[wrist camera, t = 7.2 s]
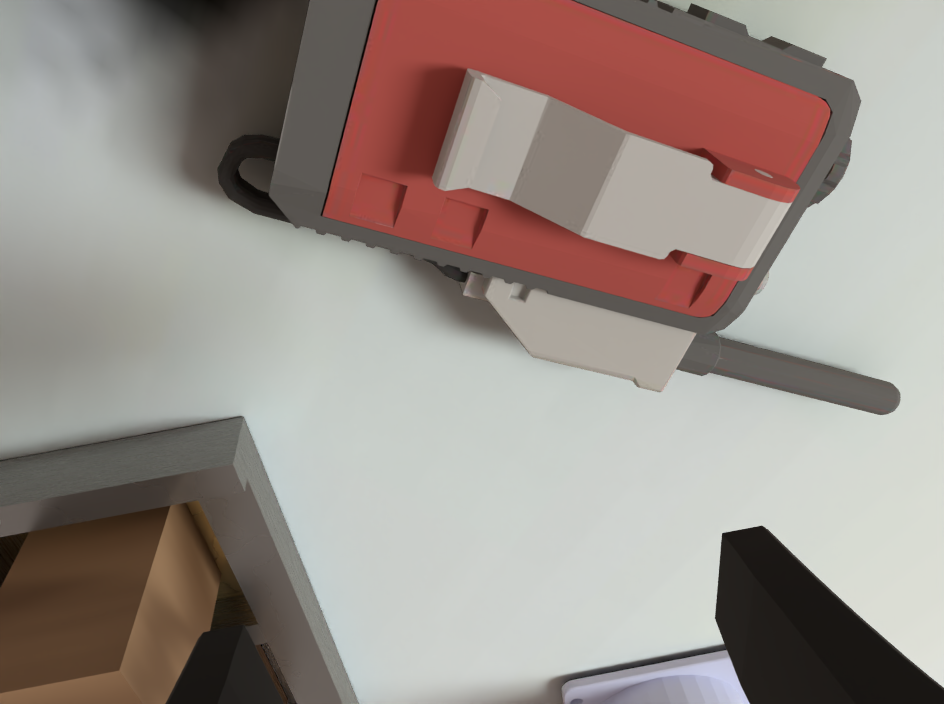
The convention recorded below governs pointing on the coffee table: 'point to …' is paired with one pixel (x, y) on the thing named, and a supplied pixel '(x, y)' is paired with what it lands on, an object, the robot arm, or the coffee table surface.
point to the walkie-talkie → (570, 170)
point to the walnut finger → (105, 609)
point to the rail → (220, 521)
